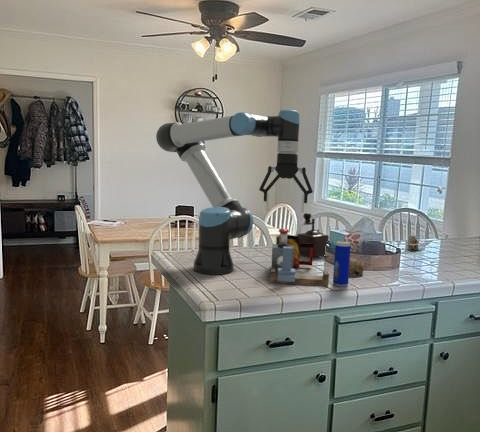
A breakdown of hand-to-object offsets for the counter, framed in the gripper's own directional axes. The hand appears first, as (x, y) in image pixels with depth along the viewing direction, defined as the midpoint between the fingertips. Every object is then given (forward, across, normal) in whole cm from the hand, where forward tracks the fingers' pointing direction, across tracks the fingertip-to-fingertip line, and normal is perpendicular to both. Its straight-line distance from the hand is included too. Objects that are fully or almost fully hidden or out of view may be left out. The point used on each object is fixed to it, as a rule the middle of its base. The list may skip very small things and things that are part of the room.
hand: (284, 211), depth 179 cm
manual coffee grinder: (+24, +11, +39) cm, 47 cm away
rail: (+23, +6, -12) cm, 27 cm away
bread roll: (+24, +25, +6) cm, 35 cm away
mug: (+24, +4, +12) cm, 27 cm away
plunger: (+13, 0, 0) cm, 13 cm away
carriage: (+23, +2, -12) cm, 27 cm away
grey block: (+23, 0, 0) cm, 23 cm away
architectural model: (+24, +63, +63) cm, 92 cm away
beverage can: (+24, +21, -12) cm, 34 cm away
